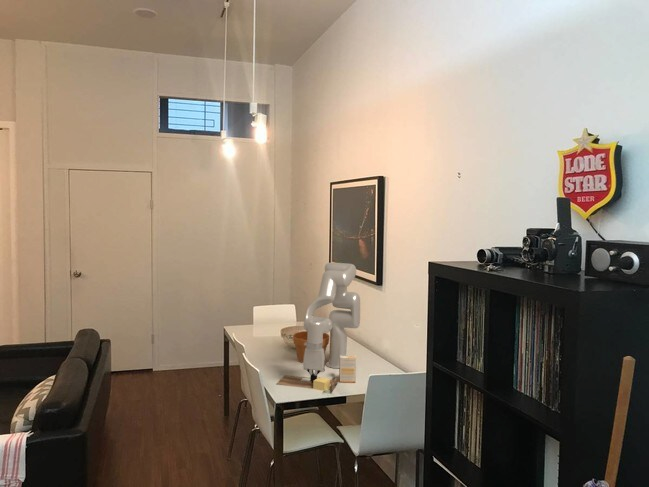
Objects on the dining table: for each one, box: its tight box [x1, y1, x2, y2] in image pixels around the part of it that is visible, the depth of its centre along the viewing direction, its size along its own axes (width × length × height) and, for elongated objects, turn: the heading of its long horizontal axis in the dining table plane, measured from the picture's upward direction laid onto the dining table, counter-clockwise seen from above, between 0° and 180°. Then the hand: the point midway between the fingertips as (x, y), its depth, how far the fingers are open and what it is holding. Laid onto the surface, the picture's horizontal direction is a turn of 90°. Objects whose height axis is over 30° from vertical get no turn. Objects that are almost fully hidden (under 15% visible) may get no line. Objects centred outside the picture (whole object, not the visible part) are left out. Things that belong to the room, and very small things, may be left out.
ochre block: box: [312, 376, 331, 392], centre depth 246 cm, size 6×6×4 cm
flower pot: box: [292, 330, 330, 363], centre depth 297 cm, size 21×21×15 cm
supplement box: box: [338, 354, 357, 384], centre depth 262 cm, size 8×5×13 cm, turn 92°
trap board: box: [275, 374, 339, 394], centre depth 254 cm, size 15×28×4 cm, turn 77°
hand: (313, 382), depth 250 cm, fingers closed
